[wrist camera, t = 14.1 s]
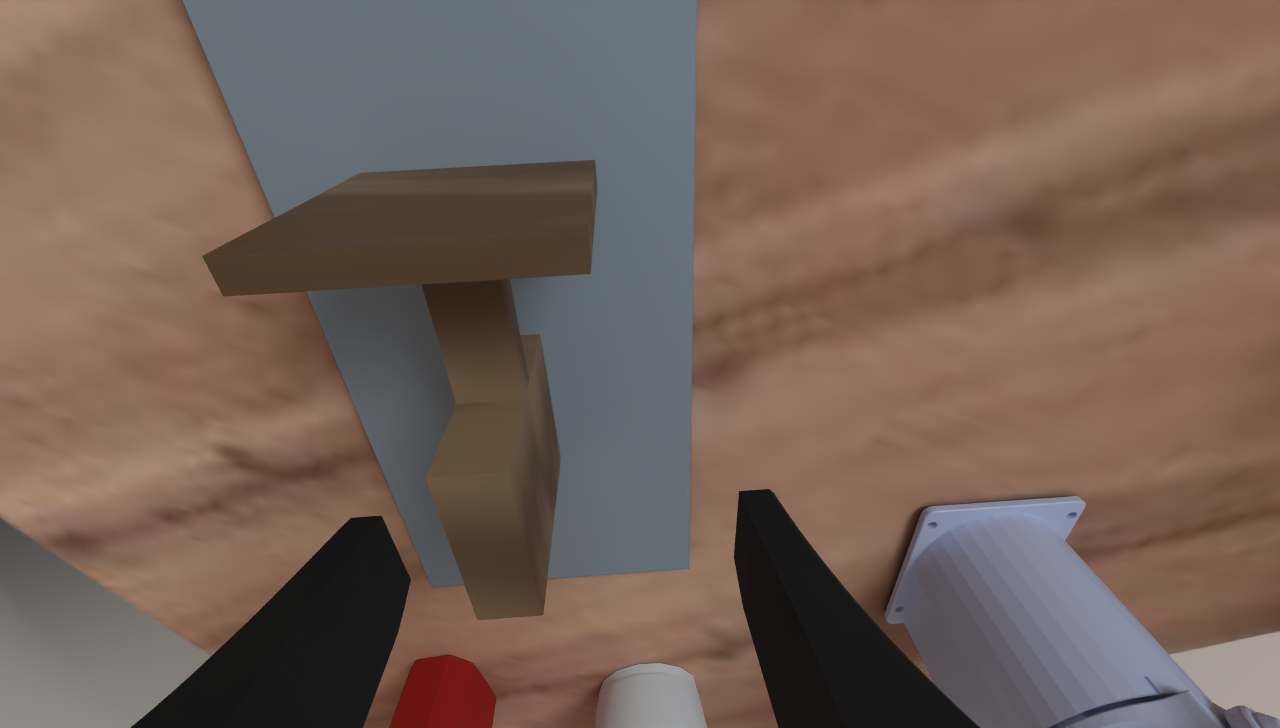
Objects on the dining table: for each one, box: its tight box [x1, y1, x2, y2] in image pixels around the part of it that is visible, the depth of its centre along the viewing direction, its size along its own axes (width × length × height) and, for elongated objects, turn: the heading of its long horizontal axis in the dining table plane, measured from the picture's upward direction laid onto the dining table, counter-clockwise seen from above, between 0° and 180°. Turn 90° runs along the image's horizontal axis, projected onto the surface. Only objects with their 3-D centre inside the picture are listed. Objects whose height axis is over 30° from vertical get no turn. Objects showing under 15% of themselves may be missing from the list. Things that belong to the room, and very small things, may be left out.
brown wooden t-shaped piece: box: [202, 160, 597, 620], centre depth 16 cm, size 12×7×7 cm, turn 2°
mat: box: [183, 0, 697, 587], centre depth 19 cm, size 26×13×1 cm, turn 2°
